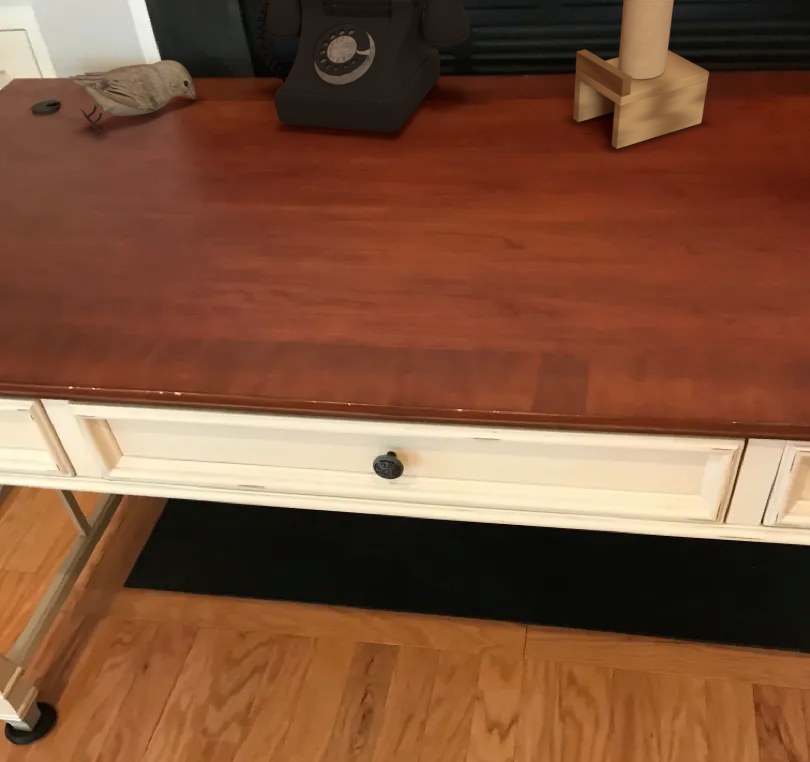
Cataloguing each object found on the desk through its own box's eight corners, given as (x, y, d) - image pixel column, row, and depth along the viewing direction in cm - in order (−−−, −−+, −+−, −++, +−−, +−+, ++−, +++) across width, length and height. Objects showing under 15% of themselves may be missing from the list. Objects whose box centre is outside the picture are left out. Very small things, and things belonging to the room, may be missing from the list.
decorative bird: (203, 106, 126) (189, 49, 121) (94, 140, 122) (74, 83, 117) (190, 94, 130) (176, 38, 124) (83, 127, 125) (63, 71, 120)
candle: (654, 82, 104) (665, -14, 97) (610, 76, 107) (617, -19, 99) (672, 64, 107) (684, -31, 100) (628, 58, 110) (637, -35, 102)
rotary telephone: (481, 85, 123) (478, -40, 112) (440, 143, 112) (432, 11, 101) (283, 74, 132) (262, -43, 121) (228, 126, 121) (199, 3, 110)
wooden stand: (654, 95, 116) (661, 27, 110) (701, 123, 110) (712, 53, 104) (573, 118, 114) (576, 51, 108) (616, 149, 107) (622, 79, 101)
